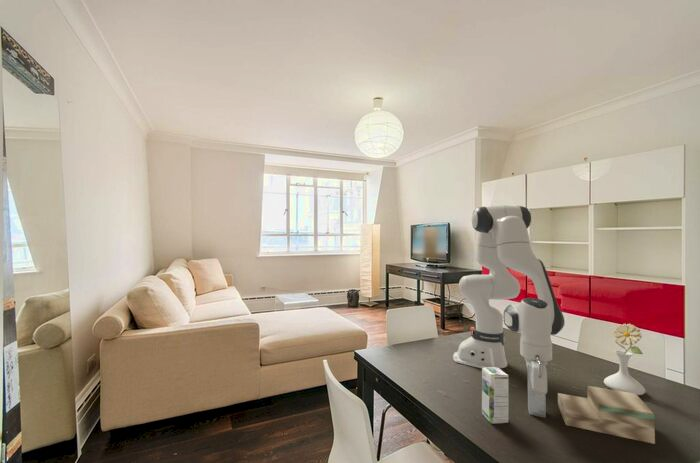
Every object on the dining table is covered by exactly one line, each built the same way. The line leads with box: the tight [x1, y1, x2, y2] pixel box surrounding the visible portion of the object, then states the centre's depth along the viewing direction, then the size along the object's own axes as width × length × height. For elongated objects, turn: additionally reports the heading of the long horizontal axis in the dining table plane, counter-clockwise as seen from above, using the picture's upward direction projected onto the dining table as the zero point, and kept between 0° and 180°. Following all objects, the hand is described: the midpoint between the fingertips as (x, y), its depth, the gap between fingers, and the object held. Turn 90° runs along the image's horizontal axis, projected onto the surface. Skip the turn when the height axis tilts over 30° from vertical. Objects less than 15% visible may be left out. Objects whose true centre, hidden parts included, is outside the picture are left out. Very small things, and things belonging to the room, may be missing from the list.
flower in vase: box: [603, 323, 646, 396], centre depth 111 cm, size 13×11×25 cm
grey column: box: [526, 364, 547, 419], centre depth 98 cm, size 4×4×14 cm
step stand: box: [557, 385, 656, 445], centre depth 92 cm, size 20×12×8 cm, turn 65°
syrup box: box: [481, 367, 509, 425], centre depth 95 cm, size 6×6×14 cm
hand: (536, 394), depth 98 cm, fingers closed on grey column, 4 cm apart
